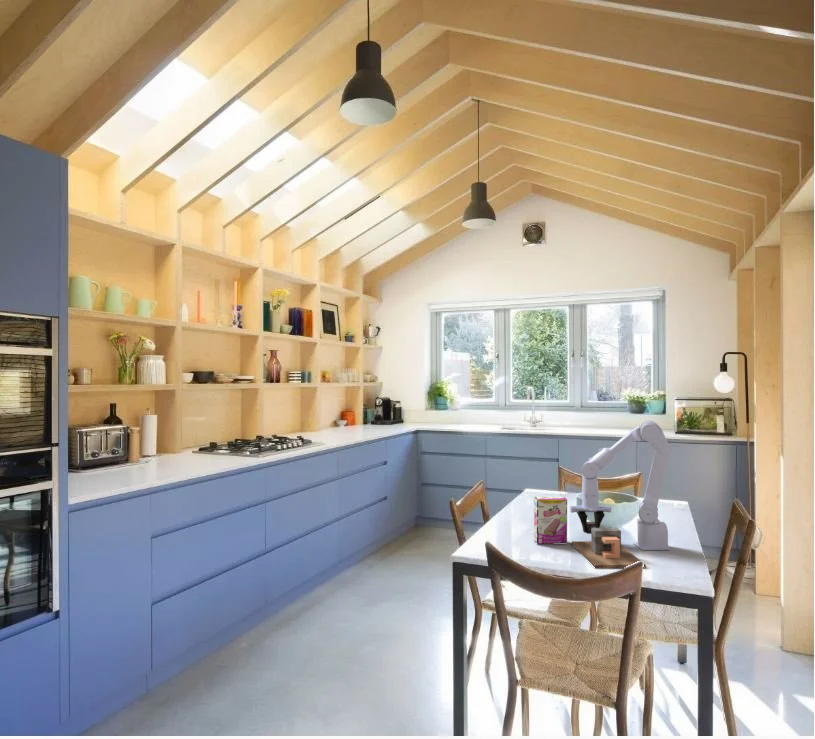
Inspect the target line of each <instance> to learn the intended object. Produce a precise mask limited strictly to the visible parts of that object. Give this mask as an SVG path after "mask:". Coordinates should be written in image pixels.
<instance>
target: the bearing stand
mask: <svg viewBox="0 0 815 739" xmlns="http://www.w3.org/2000/svg"><path fill="white" fill-rule="evenodd" d="M590 536H591V537H590V538H591V540H589V541H588V540H587V541H586V540H583V541H577V540H576V541H573V540H572V541H571V545H572V544H573V545H574V546H575V547H576V548H577V549H576V548H575V547H574V546H573V545H572V546H573V547H574V548H575V549H576V551H577V552H579V553H580V554H582V555H583V556H584V557H585V558H586V559H587V560H588V561H589V562H590V563H591V564H592V565H593V566H594V567H595V568H594V567H593V566H592V565H591V564H590V563H589V562H588V561H587V560H586V559H585V558H584V557H583V556H582V555H581V556H582V557H583V558H584V559H585V560H586V561H587V562H588V563H589V564H590V565H591V566H592V567H593V568H594V569H625V568H624V567H626V566H628V565H631V564H633V563H635V562H637V561H641V559H639V558H638V557H637V556H636V555H635V554H633V553H632V552H631V551H629V550H628V549H627V548H625V547H624V546H623V545H622V530H620V529H619V528H618V527H599V528H591V535H590ZM601 537H617V538H618V539H620V558H604V557H603V556H602V551H611V543H603V541H602V540H601ZM644 567H645V568H644V569H647V565H646V564H645V563H644Z"/></svg>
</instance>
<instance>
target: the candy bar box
mask: <svg viewBox="0 0 815 739" xmlns="http://www.w3.org/2000/svg"><path fill="white" fill-rule="evenodd" d="M533 540H534V542H535V544H536V543H537V544H536V545H555V544H554V543H567V544H568V498H566V497H564V496H534V497H533Z"/></svg>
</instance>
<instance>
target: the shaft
mask: <svg viewBox="0 0 815 739" xmlns="http://www.w3.org/2000/svg"><path fill="white" fill-rule="evenodd" d="M591 528H597V523H595V521H587V533H586V534H587V535H588V534H589V535H590V534H591ZM603 543H604V542H603Z"/></svg>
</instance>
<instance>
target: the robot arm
mask: <svg viewBox="0 0 815 739" xmlns="http://www.w3.org/2000/svg"><path fill="white" fill-rule="evenodd" d="M643 439H644V441H646V442H648V444H650V446H651V447H652V449H653V450H654V454H653V458H652V462H651V468H650V472H649V476H648V479H647V484H646V489H645V493H644V497H643V500H642V501H641V502H640V503H639V506H638V513H637V514H638V517H639V518H637V522H636V523H637V542H635V541H633V545H635V546H636V547H637V548H638V549H640V550H641V551H668V550H670V548H669V531H668V530H669V529H668V527H667V526H668V525H667V524H666V523H665V522H664V521H660V520H659V518H658V517H659V509H658V504H659V498H660V493H661V489H662V486H663V485H662V484H663V481H664V475H665V472H666V467H667V464H668V460H669V454H670V451H671V449H670V444H669V443H668V440H667V438H666V435H665V433H664V431H663V429H662V428H661V427H660V426H659V425H658V423H657V422H656V421H653V420H646V421H643V422H642V424H641V425H638V426H636V427H634V428H633V429H631V430H630V431H629V432H627V433H626V434H625V435H624V436H622V438H620V439H619V440H617V442H615V443H614V444H613V445H612V446H611V447H603V448H599V449H598V452H597V453H596V454H594V456H592V457H590V456H589V458H588V459H587V461H585V462H584V463H583V465H581V466H582V467H581V469H580V472H581V474H582V477H581V478H582V482H581V494H582V495H581V499H582V500H581V504H579V505H573V506H572V505H571V506H569V512H570V513H572V514H573V513H576V514H577V516H578V518H579V521H580V523H581V526H582V527H581V528H582V532H583V533H586V534H587V522H588V514H587V513H593V517H594V520H593V521H594V522H595V523H597V528H601V523H602V521H603V519H604V517H605V516H606V515H605V513H612V507H611V506H610V505H600V504H599V502H600V501H599V498H600V497H599V481H598V475H599V473H600V471H603V470H605V469H606V468H607V467H608V466H610V465H611V464H612V463H614V462H615V461H616V459H617V455H618V454H619V453H621V452H622V451H623V450H624V449H626V448H627V447H629V446H630V445H631V444H632V443H635V442H642V441H643Z"/></svg>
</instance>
